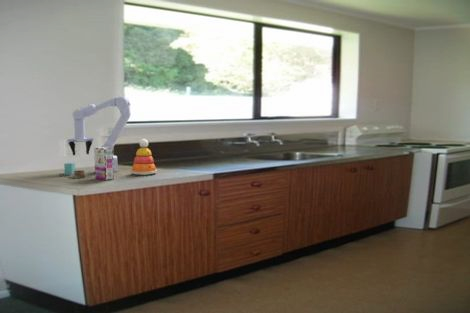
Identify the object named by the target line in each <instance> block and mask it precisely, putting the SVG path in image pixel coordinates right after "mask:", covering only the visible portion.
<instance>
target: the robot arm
mask: <svg viewBox="0 0 470 313" xmlns="http://www.w3.org/2000/svg"><path fill="white" fill-rule="evenodd" d="M109 107H116V108H117V109H118V110H119V113H120V117H119V118H118V120H117V121H116V123H115V125H114V127H113V129H112V131H111V133H110V134H109V136H108V138H107V139H106V140H105V141H104V143H103V145H101V146H100V147H106V148H113V151H114V147H115V145H116V142H117V141H118V139H119V137H120V135H121V134H122V131H124V130H123V129H124V128H125V126H126V125H127V123H128V121H129V119H130V117H131V115H132V114H131V103H130V100H129V99H128V97H126V96H118V97H115V98H110V99H107V100H106V101H103V102H101V103H98V104H96V105H95V104H93V103H89V104H88V105H87V106H84V107H79V108H80V109H76V110H74V111H73V112H72V117H73V121H74V122H73V124H74V138H66V143H67V144H68V146H69V147H70V149H71V152H72V156H76V143H83V142H84V143H85V149H86V151H85V152H86V155H89V154H90V150H91V146H92V145H93V142H94V137H86V124H85V118H89V117H91V116H93V115H96V114H98V112H99V111H100V110H103V109H106V108H109ZM118 166H119V165H118V156H117V155H113V171H114V172H116V173H117V172H119V171H118V170H119V167H118Z"/></svg>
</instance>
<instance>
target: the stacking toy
mask: <svg viewBox="0 0 470 313" xmlns="http://www.w3.org/2000/svg"><path fill="white" fill-rule="evenodd" d="M139 146H140V148H138V149H137V151H136V153H135V155H136V156H135V157H134V160H133V164H132V168H131V171H130V172H131V173H132V175H142V176H147V175H153V174H156V173H157V172H158V169H157V168H156V165H155V164H154V163H155V161H154V160H155V159H154V158H153V156H152V155H153V154H152V151H151V150H150V149H149V148H148V147H149V141H148V140H147V139H146V138H141V140H140V141H139Z"/></svg>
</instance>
